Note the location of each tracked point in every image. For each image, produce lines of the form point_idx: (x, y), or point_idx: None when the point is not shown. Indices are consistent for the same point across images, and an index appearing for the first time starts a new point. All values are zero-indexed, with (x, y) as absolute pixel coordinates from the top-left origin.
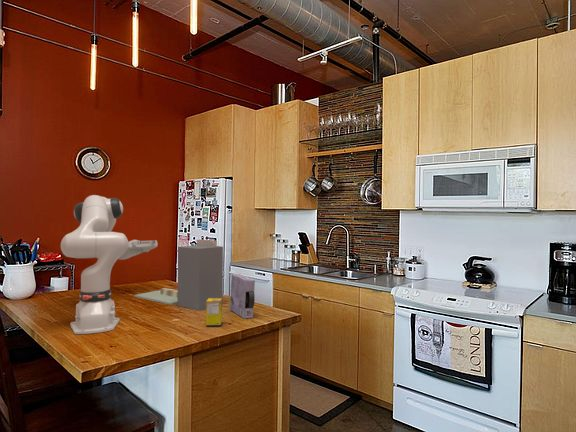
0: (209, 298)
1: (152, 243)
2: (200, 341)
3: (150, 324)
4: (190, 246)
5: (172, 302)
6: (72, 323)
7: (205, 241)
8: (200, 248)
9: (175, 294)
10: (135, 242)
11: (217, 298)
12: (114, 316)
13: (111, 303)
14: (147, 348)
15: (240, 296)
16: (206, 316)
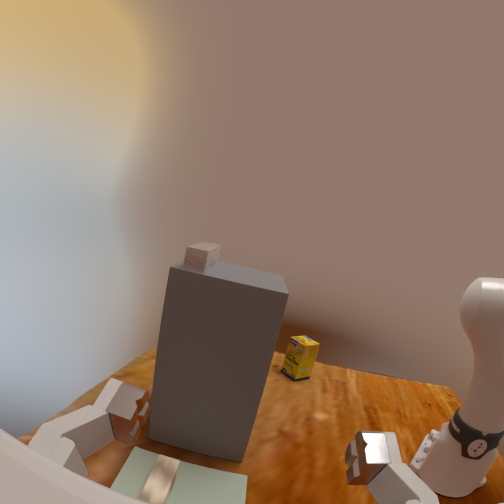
0: (307, 344)
1: (134, 441)
2: (345, 368)
3: (368, 425)
4: (248, 280)
5: (239, 475)
6: (483, 478)
7: (215, 251)
8: (274, 273)
9: (168, 495)
10: (412, 482)
11: (298, 339)
12: (420, 465)
13: (442, 430)
14: (398, 385)
15: None
16: (313, 364)
